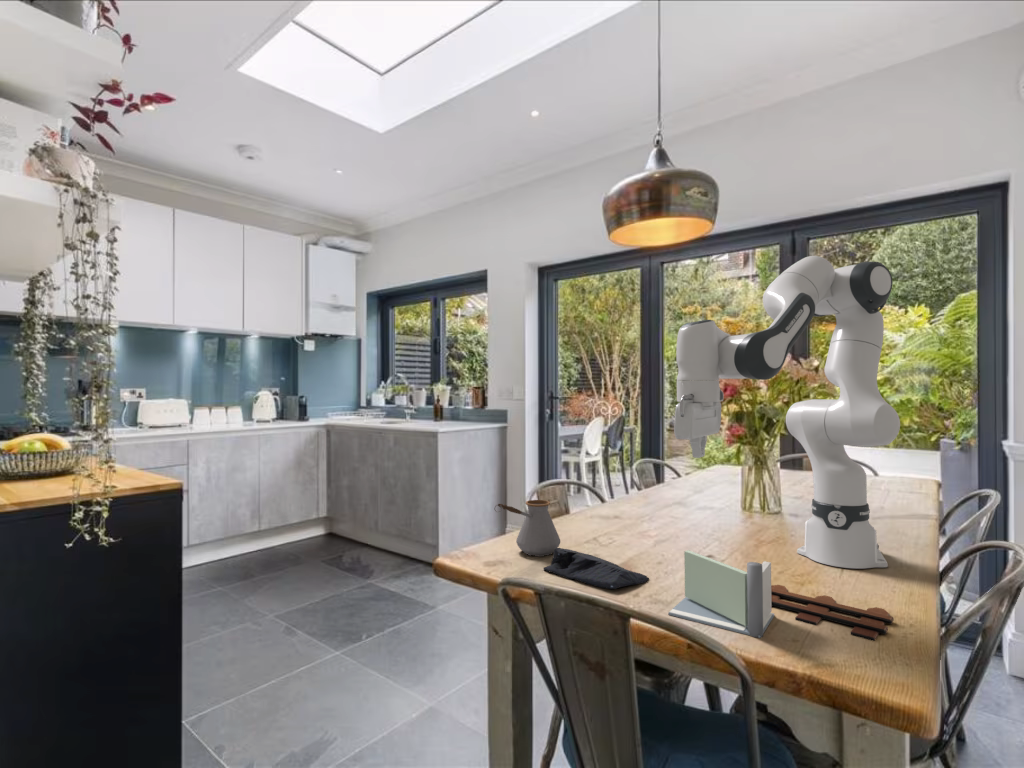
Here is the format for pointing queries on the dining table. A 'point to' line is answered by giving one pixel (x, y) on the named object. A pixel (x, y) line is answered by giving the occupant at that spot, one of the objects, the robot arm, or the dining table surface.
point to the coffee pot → (536, 529)
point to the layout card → (711, 616)
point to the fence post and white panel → (758, 596)
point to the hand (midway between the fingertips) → (698, 457)
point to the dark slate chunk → (592, 570)
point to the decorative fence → (820, 608)
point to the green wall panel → (716, 586)
